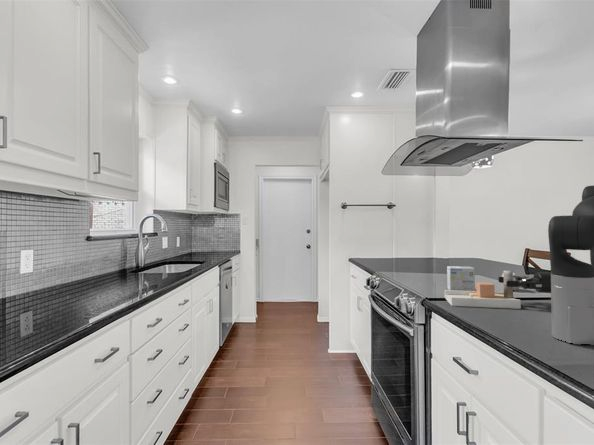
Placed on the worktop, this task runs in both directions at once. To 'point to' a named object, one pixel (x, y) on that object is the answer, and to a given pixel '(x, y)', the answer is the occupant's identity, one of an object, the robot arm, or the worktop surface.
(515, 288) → the die
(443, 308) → the worktop surface
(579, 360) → the worktop surface
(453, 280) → the light bulb box
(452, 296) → the tray
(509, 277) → the plate with upright post
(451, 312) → the worktop surface
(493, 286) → the block
